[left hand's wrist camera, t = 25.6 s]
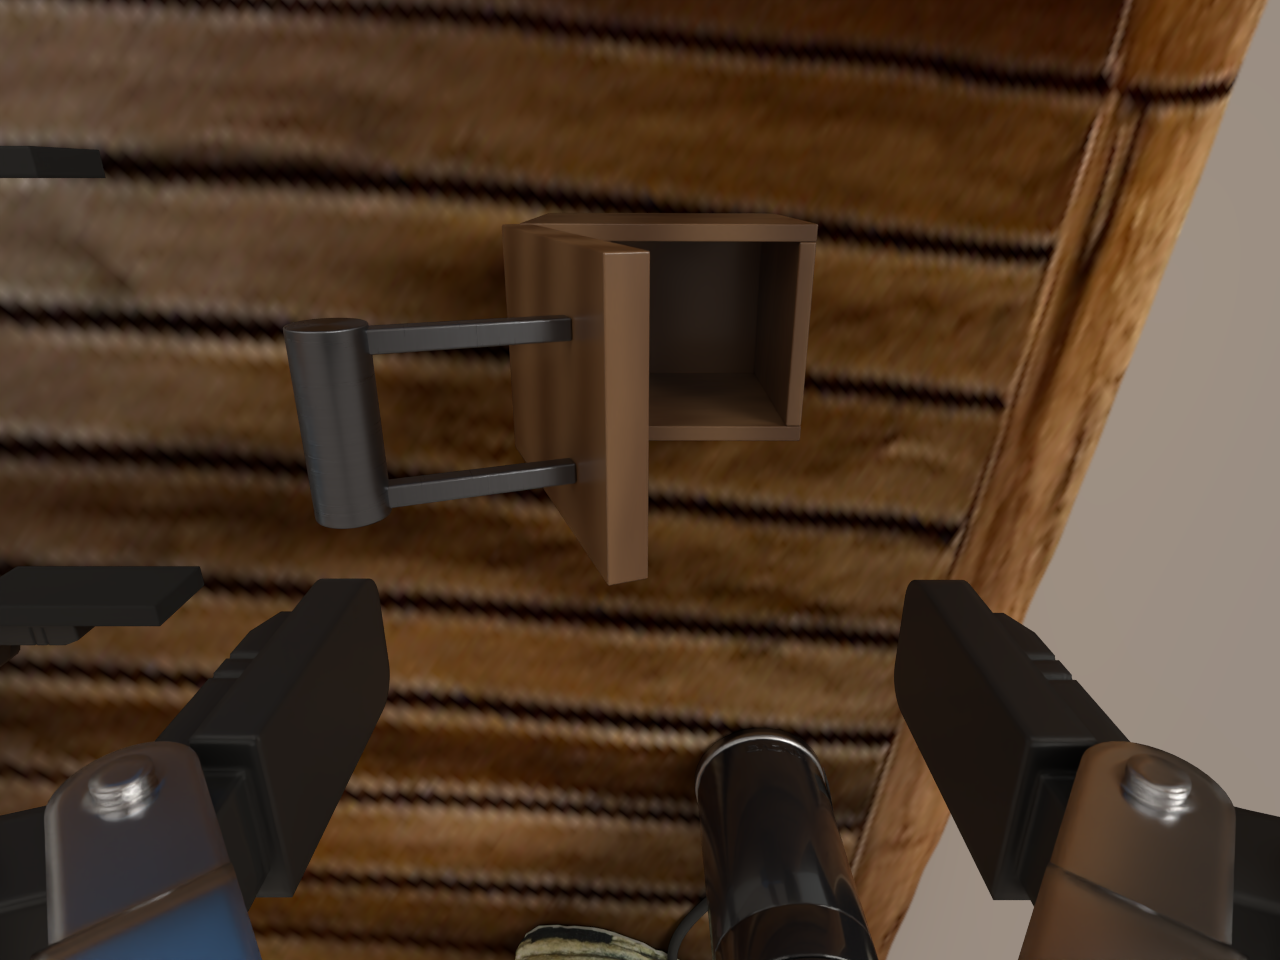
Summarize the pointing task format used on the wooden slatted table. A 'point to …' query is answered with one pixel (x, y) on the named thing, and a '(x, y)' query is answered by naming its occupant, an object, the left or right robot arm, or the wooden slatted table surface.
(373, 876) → the wooden slatted table surface
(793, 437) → the chest
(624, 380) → the lid
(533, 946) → the fossil
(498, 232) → the wooden slatted table surface
